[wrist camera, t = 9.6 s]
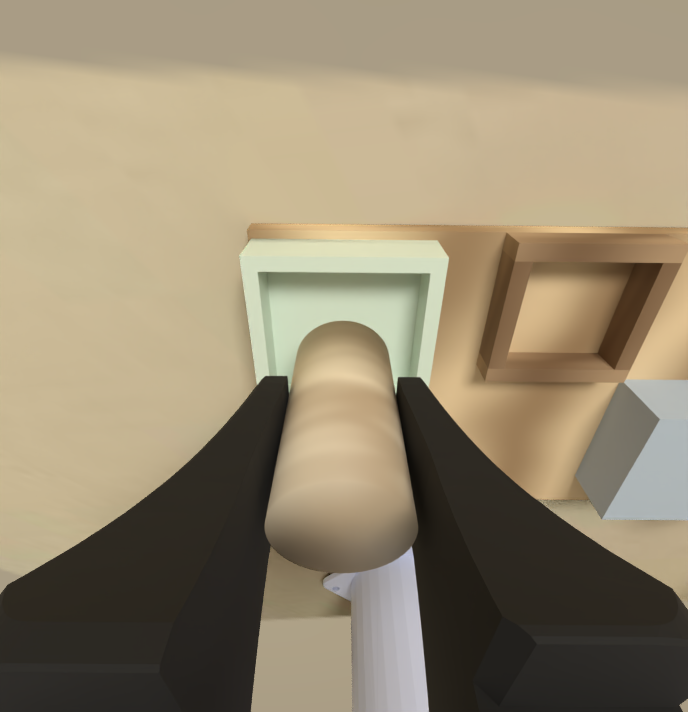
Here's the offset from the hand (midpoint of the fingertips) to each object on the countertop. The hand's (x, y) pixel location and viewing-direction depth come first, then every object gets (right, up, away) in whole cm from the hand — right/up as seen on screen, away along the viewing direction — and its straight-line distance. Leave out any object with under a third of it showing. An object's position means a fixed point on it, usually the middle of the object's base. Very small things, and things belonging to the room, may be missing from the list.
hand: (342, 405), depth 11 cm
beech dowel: (0, +1, +2) cm, 2 cm away
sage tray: (0, +3, +4) cm, 5 cm away
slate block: (+15, -2, +7) cm, 17 cm away
